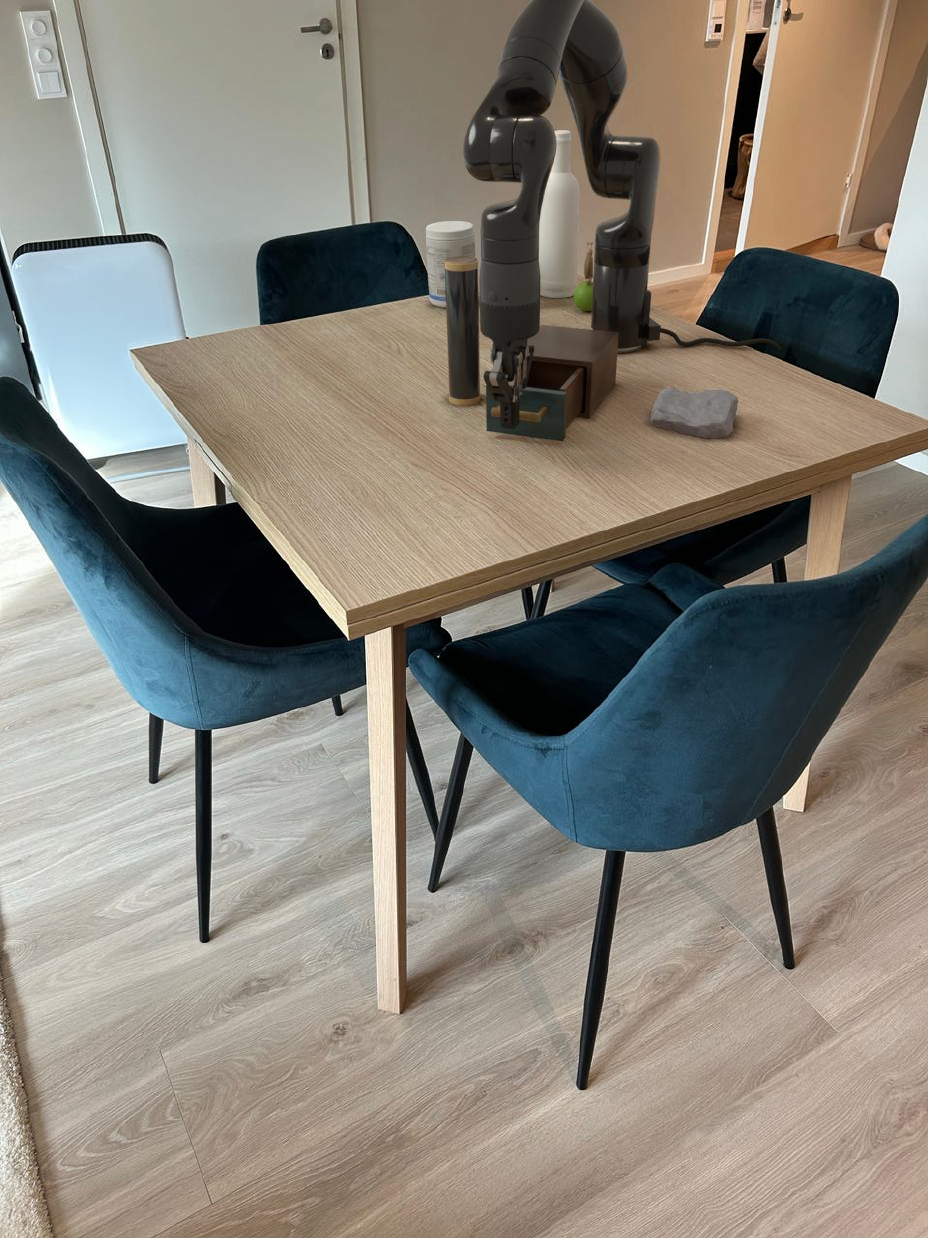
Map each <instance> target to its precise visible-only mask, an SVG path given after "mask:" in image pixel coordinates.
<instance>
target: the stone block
mask: <svg viewBox="0 0 928 1238" xmlns="http://www.w3.org/2000/svg"><path fill="white" fill-rule="evenodd" d="M738 405H739V398H738V397H737V396H736V395H735V394H734V393H731V392H730V391H729V390H725V389H704V390H701V391H695V392H689V391H686V390H685V391H684V390H681V389H678V388H676V387H672V386H669V387H667V388H664V389H663V390H661V391H660V392H659V393H658V394H657V397H656V399H655V402H654V404H653V406H652V409H651V412H650V425H652V426H654V427H656V428H660V429H663V430H669V431H674V432H677V433H680V434H684V435H689V436H696V437H699V438H703V439H712V438H713V439H716V438H717V439H719V438H720V439H721V438H725V437H727V436H730V435H731V433H733V432H734V422H735V419H736V416H737V411H738V407H739V406H738Z"/></svg>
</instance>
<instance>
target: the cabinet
mask: <svg viewBox="0 0 928 1238" xmlns="http://www.w3.org/2000/svg"><path fill="white" fill-rule="evenodd" d="M618 335H619V332H610V331H600V330H590V329H589V328H588V329H587V328H580V327H579V328H577V327H567V326H558V325H557V326H556V325H547V324H540V329H539V332H538V333H537V334H536V335H535V336H533V337H531V338H528V341H527V345H534V353H533V358H532V361H538V362H547V363H556V364H565V365H574V366H583V367H587V376H586V398H585V406H584V408H583V409H582V410H581V411H580V413H579V414H578V415H577V416H576V418H579V419H586V420H590V419H591V418H592V416H593V415H594V414H595V413H596V411H597V410H598V409H599V407H601V405H602V403H603V402H604V401H605V400H606V398H608V396H609V395H610V394H611V392H612V391H613V389H614V388H615V387H616V381H617V366H618V365H617V363H618V353H617V351H618Z"/></svg>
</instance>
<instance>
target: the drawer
mask: <svg viewBox="0 0 928 1238" xmlns="http://www.w3.org/2000/svg"><path fill="white" fill-rule="evenodd" d="M586 376H587V367H583V366H574V365H565V364H556V363H547V362H538V361H532V363H531V367H530V372H529V376H528V381H527V386H526V389H522V397H521V398H518V399H520V407H519V424H518V426H517V427H516V428H515V429H507V428H502V427H501V425H500V402H498V401H493V399H492V397H491V395H490V392H489V390H488V387H487V385H486V384H485V412H486V413H485V418H486V419H485V420H486V432H489V433H496V434H503V435H511V436H518V437H527V438H533V439H542V440H548V441H555V442H564V441H565V440H566V437H567V435H566V434H567V429H568V428H569V426H571V424H572V423H573V421H574V420H575V419H576V418H577V417H576V416H577V415H578V414H579V413H580V411H581V410H582V409H583V408H584V406H585V398H586Z"/></svg>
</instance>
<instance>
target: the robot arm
mask: <svg viewBox="0 0 928 1238" xmlns="http://www.w3.org/2000/svg"><path fill="white" fill-rule="evenodd" d="M628 73H629V72H628V65H627V60H626V57H625V51H624V48H623V44H622V40H621V36H620V33H619V31H618V29H617V27H616V25H615V24H614V22H613V21H612V20H611V19H610V18H609V16H608V15H607V14H606V13H605V12H604V11H603V10H601V8H600V7H598V6H597V5H596V4H595V3H594V2H593V1H592V0H530V1H529V3H527V5H526V6H525V7H524V8H523V9H522V11H521V12H520V13H519V14H518V16H517V17H516V18H515V19H514V21H513V24H512V25H511V27H510V29H509V30H508V33H507V35H506V36H505V41H504V44H503V47H502V50H501V56H500V59H499V64H498V67H497V72H496V75H495V78H494V81H492V83H491V85H490V87H489V89H488V91H487V92H486V94H485V96H484V97H483V99H482V101H481V102H480V104H479V105H478V107H477V109H476V110H475V112H474V113H473V115H472V117H471V119H470V121H469V122H468V125H467V128H466V131H465V134H464V137H463V142H462V157H463V158H462V159H463V163H464V166H465V169H466V170H467V172H468V173H469V175H470V176H471V177H472V178H473V179H475V180H476V181H480V182H488V183H517V184H518V183H519V184H521V185H520V191H519V194H518V196H517V197H516V198H514V199H511V200H506V201H501V202H495V203H493V204H490V205H487V206H486V207H485V208H484V209H483V210H482V212H481V215H480V268H479V276H478V287H479V331H480V333H481V334H482V335H483V336H484V337H485V338H488V339H490V340H491V341H492V348H491V349H490V355H489V356H490V363H491V365H492V368H491V370H485V371H484V373H483V380H484V383H485V386H486V385H487V387H488V390H489V392H490V395H491V397H492V399H493V401H498V402H500V425H501V427H502V428H507V429H515V428H516V427H517V426H518V424H519V407H520V399H518V398H521V397H522V389H526V386H527V381H528V376H529V372H530V367H531V363H532V358H533V353H534V345H527V341H528V338H531V337H533V336H535V335H536V334H537V333H538V332H539V329H540V326H541V295H540V266H539V224H540V215H541V209H542V204H543V199H544V194H545V190H546V187H547V183H548V179H549V176H550V173H551V170H552V166H553V163H554V159H555V154H556V147H557V141H556V135H555V131H556V130H555V129H554V127H553V124H552V123H551V121H550V120H548V119H547V117H545V116H544V114H545V113H546V112H547V111H548V110H549V108H550V107H551V104H552V102H553V100H554V96H555V91H556V87H557V83H558V79H559V78H560V81H561V84H562V88H563V90H564V92H565V95H566V97H567V100H568V101H567V102H568V103H569V107H570V109H571V112H572V116H573V119H574V122H575V126H576V129H577V134H578V138H579V142H580V148H581V152H582V157H583V162H584V167H585V172H586V176H587V177H586V178H587V180H588V184H589V186H590V189H591V191H592V192H593V193H594V195H596V196H598V197H600V198H604V199H612V200H623V201H624V200H625V201H629V206H628V210H627V212H625V213H623V214H621V215H620V216H617V217H614V218H611V219H607V220H604V221H601V222H600V223H598V225H596V228H595V235H594V252H593V254H594V255H593V278H592V282H593V294H592V310H591V315H590V316H591V319H590V326H589V327H588V329H590V330H600V331H610V332H619V335H618V351H617V354H623V353H632V352H636V351H639V350H640V349H646V348H648V342H652V341H653V342H654V341H660V339H661V334H664V335H667V336H670V337H671V338H672V339H674V341H675V343H676V344H677V345H678V346H681V347H684V348H689V347H693V346H696V345H700V344H705V343H706V344H707V343H708V344H714V345H720V346H723V347H732V348H733V347H737V348H738V347H745V346H750V345H757V344H765V345H769V346H771V347H773V348H774V349H775V350H779V351H781V350H782V347H781V346H780V345H779V344H778V343H777V342H776V341H774V340H771V339H770V338H760V337H759V338H753V339H748V340H747V339H746V340H741V341H730V340H729V341H728V340H723V339H718V338H714V337H713V338H712V337H700V338H696V339H694V340H691V341H683V340H682V339H680V337H679V335H678V334H677V333H676V332H675V331H672V330H670V329H668V328H663V327H662V326H661V324H660V323H658V322H656V321H655V320H654V319H652V318H651V317H650V316H651V304H652V302H651V301H652V292H651V290H650V289H648V284H649V271H650V270H649V269H650V258H651V257H650V256H651V243H652V234H653V227H654V220H655V214H656V213H655V212H656V202H657V194H658V186H659V180H660V172H661V171H660V170H661V157H662V155H661V148H660V145H659V142H658V140H656V138H653V137H650V136H637V135H636V136H635V135H616V134H613V133H612V132H611V131H610V129H609V125H608V123H609V120H610V118H611V116H612V115H613V113H614V112H615V110H616V108H617V107H618V105H619V103H620V101H621V99H622V97H623V95H624V93H625V90H626V87H627V83H628V76H629V74H628Z"/></svg>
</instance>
